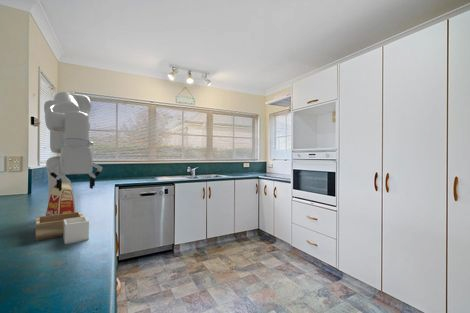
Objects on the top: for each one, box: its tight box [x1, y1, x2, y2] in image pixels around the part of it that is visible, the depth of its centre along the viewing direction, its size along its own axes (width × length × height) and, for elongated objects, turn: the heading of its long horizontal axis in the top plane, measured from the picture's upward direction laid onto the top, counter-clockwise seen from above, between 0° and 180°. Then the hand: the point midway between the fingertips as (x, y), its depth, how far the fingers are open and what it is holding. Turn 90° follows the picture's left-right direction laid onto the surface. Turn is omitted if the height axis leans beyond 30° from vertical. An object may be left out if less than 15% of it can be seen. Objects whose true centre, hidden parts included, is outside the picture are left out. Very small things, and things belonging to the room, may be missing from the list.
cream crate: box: [62, 215, 90, 245], centre depth 84 cm, size 9×7×7 cm
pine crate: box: [35, 211, 85, 242], centre depth 91 cm, size 14×15×6 cm
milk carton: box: [45, 181, 77, 216], centre depth 103 cm, size 9×9×20 cm
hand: (76, 189), depth 84 cm, fingers open, 9 cm apart
